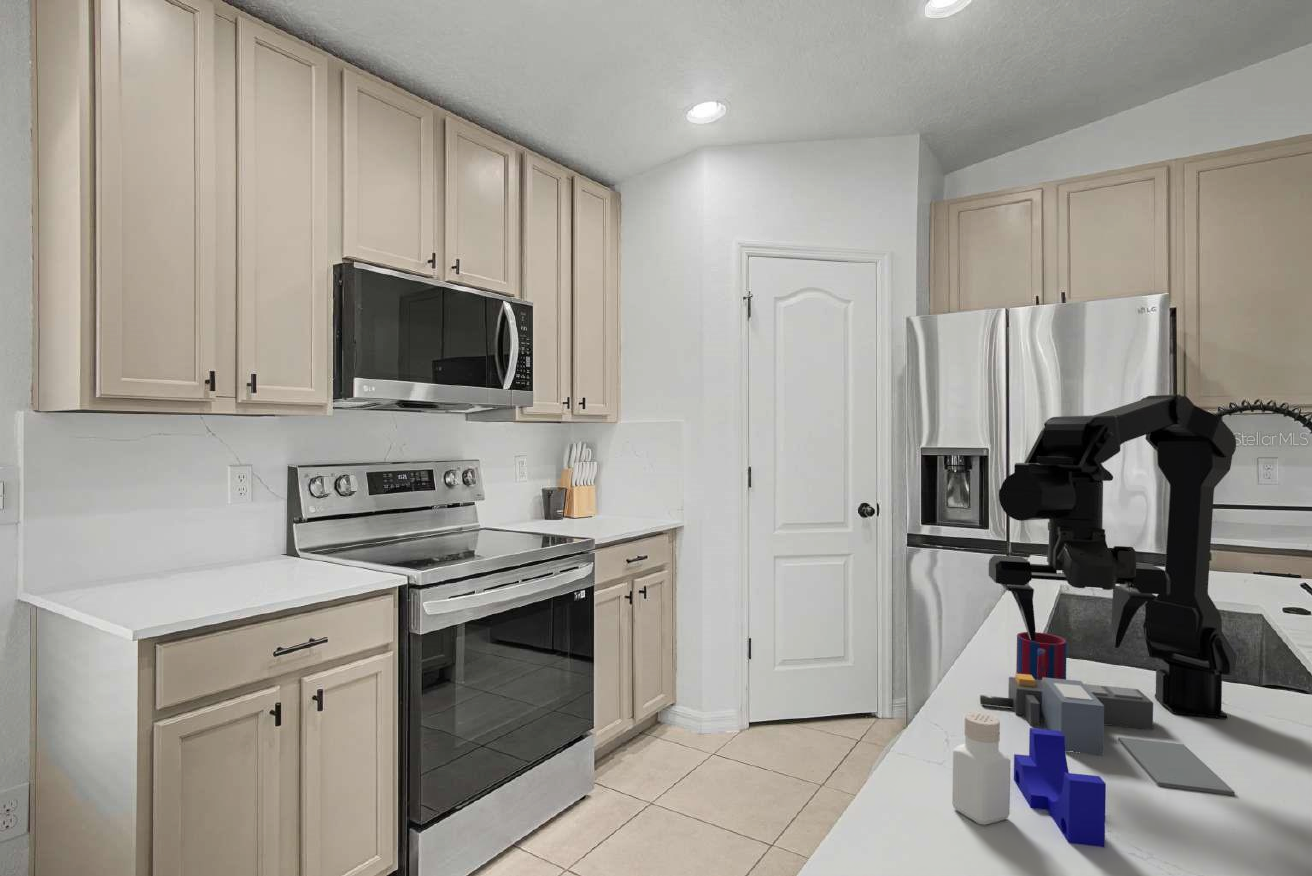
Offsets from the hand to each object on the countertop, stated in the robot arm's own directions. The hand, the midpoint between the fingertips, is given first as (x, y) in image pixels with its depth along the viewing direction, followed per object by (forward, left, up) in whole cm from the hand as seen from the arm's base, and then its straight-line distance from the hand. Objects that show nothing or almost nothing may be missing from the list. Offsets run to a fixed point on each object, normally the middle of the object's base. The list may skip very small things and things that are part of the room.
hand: (1073, 643), depth 88 cm
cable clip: (+7, +19, -12) cm, 24 cm away
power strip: (-1, -7, -12) cm, 14 cm away
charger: (0, 0, -12) cm, 12 cm away
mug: (-1, -20, -12) cm, 24 cm away
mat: (-9, +5, -12) cm, 16 cm away
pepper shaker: (+14, +23, -12) cm, 29 cm away
